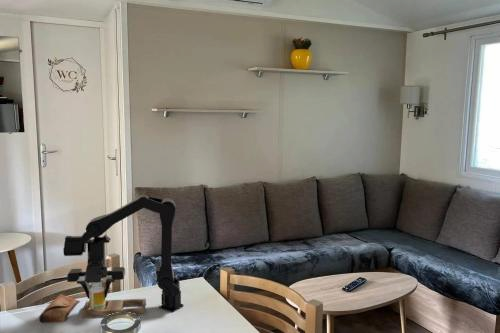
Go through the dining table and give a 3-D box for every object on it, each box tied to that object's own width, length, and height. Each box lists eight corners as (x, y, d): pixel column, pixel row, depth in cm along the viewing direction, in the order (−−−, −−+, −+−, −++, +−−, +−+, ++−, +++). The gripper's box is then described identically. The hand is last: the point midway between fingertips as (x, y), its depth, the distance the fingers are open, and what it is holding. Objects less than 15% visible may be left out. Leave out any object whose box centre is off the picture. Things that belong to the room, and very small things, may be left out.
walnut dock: (145, 303, 163) (145, 298, 162) (144, 314, 154) (144, 308, 154) (86, 306, 159) (86, 301, 159) (81, 317, 150) (81, 312, 150)
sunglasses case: (65, 322, 147) (54, 306, 146) (47, 333, 146) (36, 316, 145) (81, 300, 164) (71, 285, 163) (64, 309, 164) (54, 295, 163)
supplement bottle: (108, 305, 157) (108, 279, 156) (98, 311, 152) (98, 284, 151) (96, 303, 159) (95, 277, 158) (86, 309, 154) (85, 282, 153)
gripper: (62, 263, 144) (63, 309, 145) (121, 261, 147) (121, 305, 149) (70, 252, 155) (71, 295, 156) (125, 251, 158) (125, 292, 159)
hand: (97, 297), depth 155 cm, fingers closed on supplement bottle, 5 cm apart
